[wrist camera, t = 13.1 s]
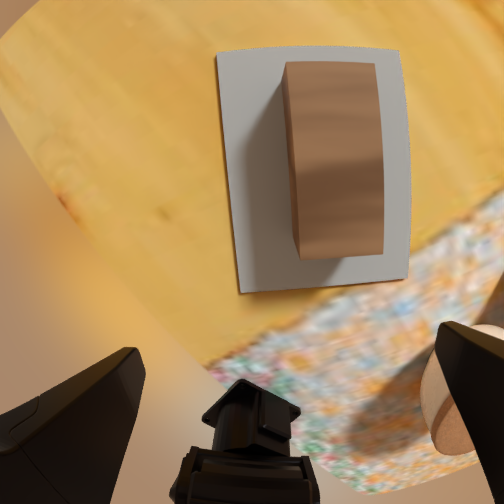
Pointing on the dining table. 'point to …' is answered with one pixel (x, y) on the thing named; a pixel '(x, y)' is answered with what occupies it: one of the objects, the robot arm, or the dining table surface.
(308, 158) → the walnut block
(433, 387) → the lidded jar
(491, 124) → the dining table surface
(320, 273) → the mat
